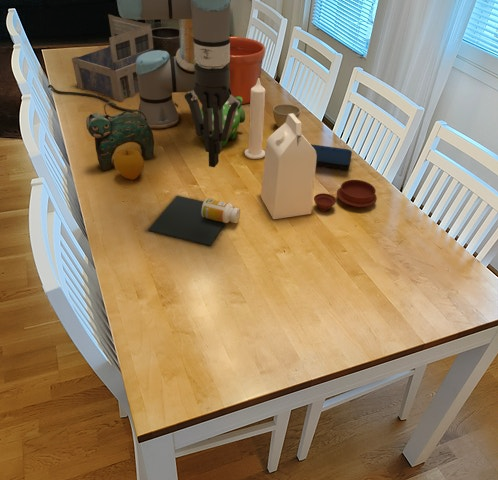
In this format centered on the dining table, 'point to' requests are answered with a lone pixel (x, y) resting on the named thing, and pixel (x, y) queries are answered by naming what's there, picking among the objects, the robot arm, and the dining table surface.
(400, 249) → the dining table surface
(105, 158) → the ceramic cat
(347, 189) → the pottery
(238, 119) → the piggy bank
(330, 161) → the game console
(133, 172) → the apple
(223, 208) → the supplement bottle
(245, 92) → the pot
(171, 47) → the planter
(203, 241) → the mat
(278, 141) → the milk
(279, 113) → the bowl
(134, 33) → the building
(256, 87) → the candle
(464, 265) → the dining table surface
